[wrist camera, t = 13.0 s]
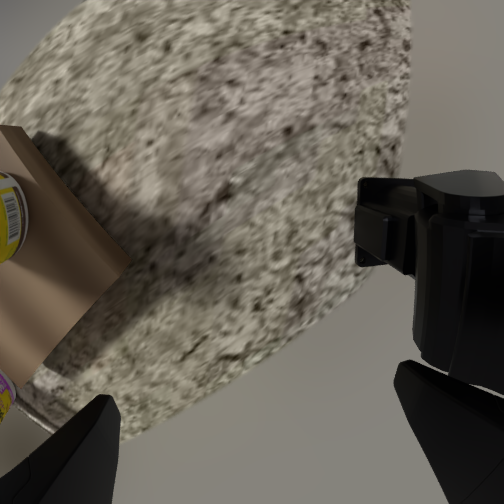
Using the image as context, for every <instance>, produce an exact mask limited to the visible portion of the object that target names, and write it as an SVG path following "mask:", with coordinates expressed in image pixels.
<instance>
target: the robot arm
mask: <svg viewBox="0 0 504 504" xmlns="http://www.w3.org/2000/svg"><path fill="white" fill-rule="evenodd" d="M365 181H366V182H367V186H366V187H365V188H364V186H363V184H364V182H365ZM354 242H355V243H356V247H355V263H356V264H357V265H358V266H360V267H368V266H377V265H385V264H389V265H390V266H392V267H393V268H395V269H396V270H398V271H399V272H401V273H402V274H404V275H409V276H410V277H412V278H413V279H415V300H414V316H413V328H412V330H413V340H414V342H415V343H416V345H417V347H418V348H419V350H420V351H421V358H422V359H423V360H425V361H426V362H427V363H428V364H430V365H431V366H433V367H436V368H438V369H440V370H442V371H445V372H449V373H448V375H445V374H443V373H441V372H438V371H436V370H434V369H431V368H429V367H427V366H424V365H422V364H420V363H418V362H415V361H413V360H406V361H403V362H400V363H399V365H398V368H397V371H396V374H395V378H394V388H395V390H396V393H397V395H398V398H399V400H400V403H401V405H402V408H403V410H404V412H405V415H406V418H407V420H408V422H409V424H410V426H411V428H412V430H413V432H414V434H415V436H416V438H417V440H418V442H419V444H420V445H421V447H422V449H423V451H424V453H425V455H426V457H427V459H428V461H429V463H430V465H431V467H432V469H433V471H434V473H435V475H436V477H437V479H438V482H439V483H440V486H441V488H442V490H443V492H444V494H445V496H446V499H447V501H448V503H449V504H504V398H501V397H499V396H496V395H493V394H491V393H489V392H486V391H484V390H481V389H479V388H476V387H474V386H472V385H477V386H482V387H485V388H488V389H490V390H493V391H495V392H497V393H500V394H502V395H504V181H503V180H502V179H501V178H500V177H499V176H498V175H497V174H496V173H495V172H489V171H477V170H460V171H453V172H446V173H440V174H434V175H427V176H420V177H414V179H403V178H377V177H362V178H360V179H359V181H358V196H357V206H356V208H355V224H354ZM362 257H363V258H364V259H363V261H362V262H360V259H361V258H362ZM469 384H471V385H469ZM120 423H121V416H120V412H119V410H118V408H117V405H116V403H115V401H114V399H113V397H112V396H111V395H105V394H99V395H97V396H96V397H95V398H94V399H93V400H92V401H90V402H89V403H88V404H87V405H86V406H85V407H84V408H82V409H81V410H80V411H79V412H78V413H77V414H76V415H74V416H73V417H72V418H71V419H70V420H69V421H68V422H66V423H65V424H64V425H63V426H62V427H61V428H60V429H58V430H57V431H56V432H55V433H54V434H53V435H52V436H51V437H49V438H48V439H47V440H46V441H45V442H44V443H42V444H41V445H40V446H39V447H38V448H37V449H36V450H34V451H33V452H32V453H31V454H30V455H29V457H26V458H25V459H24V460H23V461H22V462H20V464H18V465H17V466H16V467H14V469H12V470H11V471H10V472H8V473H7V474H5V475H4V476H2V477H1V478H0V504H112V497H113V489H114V483H115V477H116V470H117V464H118V455H119V437H120Z"/></svg>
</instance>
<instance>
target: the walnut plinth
mask: <svg viewBox="0 0 504 504" xmlns="http://www.w3.org/2000/svg"><path fill="white" fill-rule="evenodd" d="M0 171H1V172H4V173H7V174H9V175H10V176H11V177H13V178H14V179H15V180H16V182H17V183H18V184H19V186H20V188H21V189H22V191H23V194H24V196H25V199H26V203H27V208H28V229H27V234H26V238H25V241H24V243H23V245H22V246H21V248H20V250H19V251H18V252H17V253H16V254H15V255H14V256H12V257H11V258H9V259H8V260H6V261H5V262H3V263H1V264H0V369H1V370H2V371H3V372H4V373H5V374H6V375H7V376H8V377H9V378H10V379H11V380H12V381H13V382H14V383H15V384H16V385H17V386H18V387H19V388H20V389H21V388H22V387H23V386H24V384H25V383H26V382H27V381H28V379H29V378H30V377H31V376H32V374H33V373H34V372H35V371H36V369H37V368H38V367H39V366H40V365H41V363H42V362H43V361H44V360H45V358H46V357H47V356H48V355H49V354H50V352H51V351H52V350H53V349H54V348H55V347H56V345H57V344H58V343H59V342H60V341H61V340H62V338H63V337H64V336H65V335H66V334H67V333H68V332H69V330H70V329H71V328H72V327H73V326H74V325H75V324H76V323H77V321H78V320H79V319H80V318H81V317H82V316H83V315H84V314H85V313H86V312H87V310H88V309H89V308H90V307H91V306H92V305H93V304H94V303H95V302H96V301H97V300H98V299H99V298H100V297H101V295H102V294H103V293H104V292H105V291H106V290H107V289H108V288H109V287H110V286H111V285H112V284H113V283H114V282H115V281H116V280H117V279H118V278H119V277H120V275H121V274H122V273H123V271H124V270H125V269H126V267H127V266H128V265H129V263H130V262H131V261H132V259H131V258H130V257H129V256H128V255H127V254H126V253H125V252H124V251H123V250H122V248H121V247H120V246H119V245H118V244H117V243H116V242H115V241H114V240H113V239H112V238H111V237H110V236H109V234H108V233H107V232H106V231H105V230H104V229H103V228H102V227H101V226H100V225H99V223H98V222H97V221H96V220H95V219H94V218H93V217H92V215H91V214H90V213H89V212H88V211H87V210H86V209H85V207H84V206H83V205H82V204H81V203H80V202H79V200H78V199H77V198H76V197H75V196H74V194H73V193H72V192H71V191H70V190H69V188H68V187H67V186H66V185H65V184H64V182H63V181H62V180H61V179H60V177H59V176H58V175H57V174H56V172H55V171H54V170H53V169H52V167H51V166H50V165H49V163H48V162H47V161H46V160H45V158H44V157H43V156H42V154H41V153H40V152H39V150H38V149H37V148H36V146H35V145H34V144H33V142H32V141H31V140H30V138H29V137H28V135H27V134H26V133H25V131H24V130H23V128H22V127H19V126H7V125H0Z"/></svg>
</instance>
